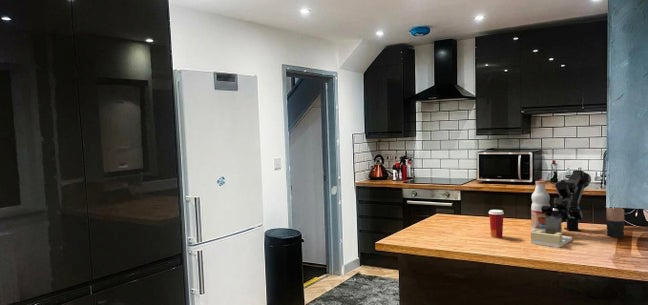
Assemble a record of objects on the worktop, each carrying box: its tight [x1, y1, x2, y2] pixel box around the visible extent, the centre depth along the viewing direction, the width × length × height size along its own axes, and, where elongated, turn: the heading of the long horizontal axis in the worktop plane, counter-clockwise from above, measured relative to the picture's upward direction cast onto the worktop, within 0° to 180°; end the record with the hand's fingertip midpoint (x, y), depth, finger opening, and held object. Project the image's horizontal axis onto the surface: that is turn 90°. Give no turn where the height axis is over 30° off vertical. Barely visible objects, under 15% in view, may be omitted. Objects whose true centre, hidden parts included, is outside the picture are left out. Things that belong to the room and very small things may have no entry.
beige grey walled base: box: [530, 230, 573, 248], centre depth 220 cm, size 20×13×6 cm, turn 134°
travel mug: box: [606, 207, 625, 239], centre depth 225 cm, size 8×8×20 cm
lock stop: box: [545, 215, 563, 234], centre depth 222 cm, size 5×6×10 cm
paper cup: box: [488, 209, 505, 239], centre depth 233 cm, size 8×8×14 cm
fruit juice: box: [530, 180, 551, 233], centre depth 241 cm, size 9×9×28 cm
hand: (557, 225), depth 226 cm, fingers closed
